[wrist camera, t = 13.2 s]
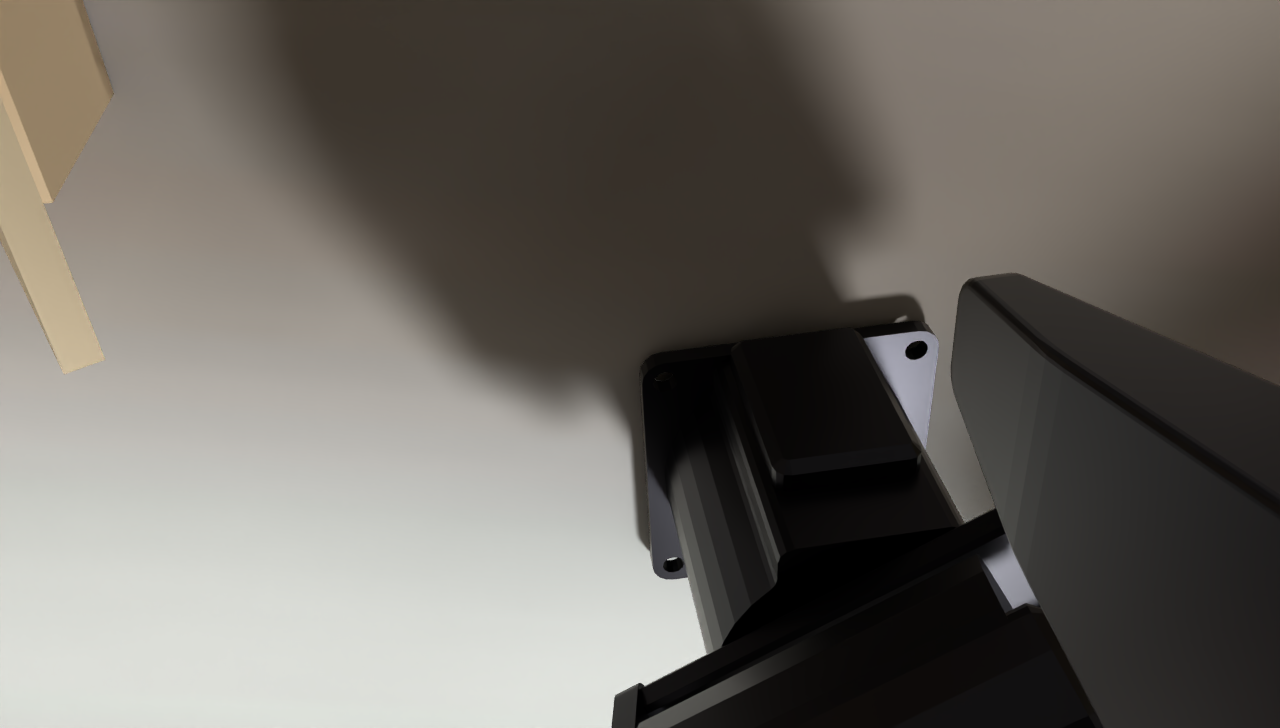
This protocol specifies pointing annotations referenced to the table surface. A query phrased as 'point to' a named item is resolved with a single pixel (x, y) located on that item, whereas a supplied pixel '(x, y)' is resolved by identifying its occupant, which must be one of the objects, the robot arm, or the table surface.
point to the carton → (51, 84)
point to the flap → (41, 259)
